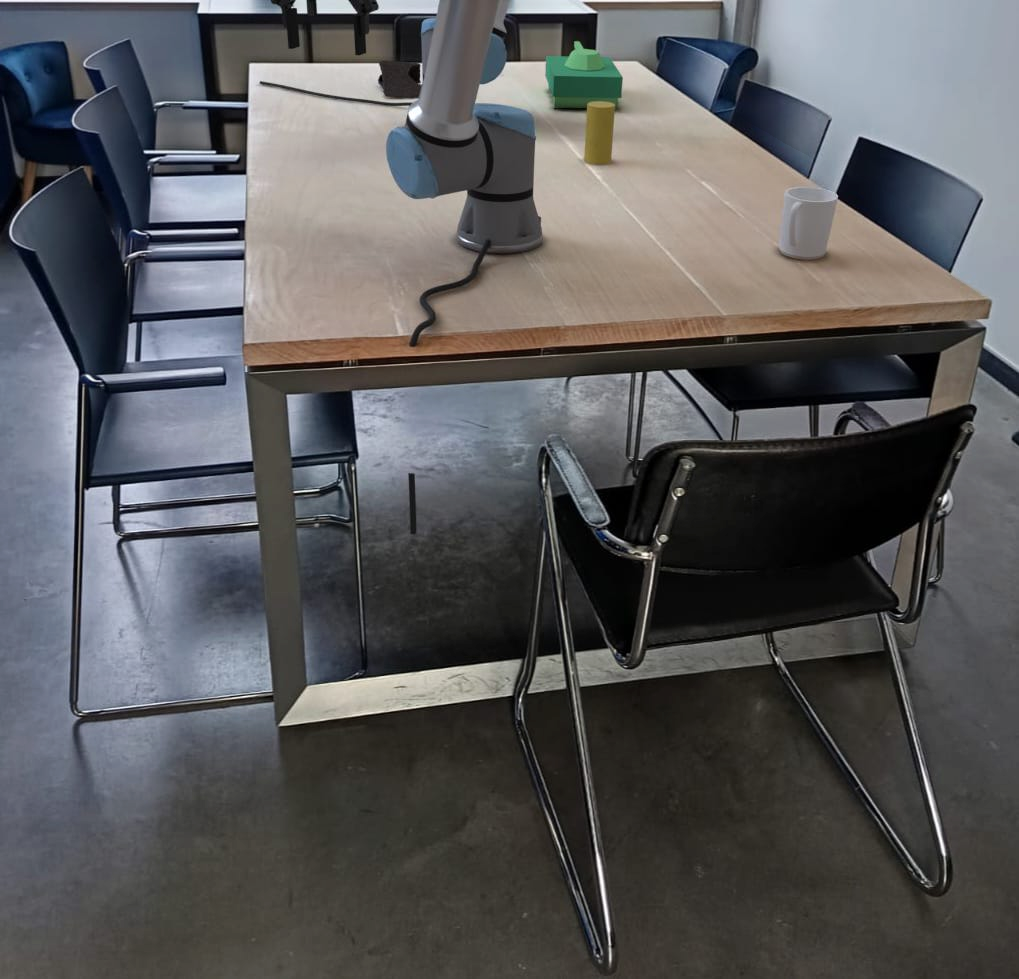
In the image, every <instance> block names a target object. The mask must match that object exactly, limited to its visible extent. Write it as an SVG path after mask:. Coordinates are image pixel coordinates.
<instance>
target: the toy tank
mask: <svg viewBox="0 0 1019 979" xmlns="http://www.w3.org/2000/svg"><path fill="white" fill-rule="evenodd" d="M573 43H574V44H573V45H574V46H573V47H574V49H573V50H572V51H571V52H570V54H569V56H567V55H566V56H565V55H564V56H559V55H556V56H555V55H546V56H545V74H544V76H545V79H546V81H547V85H548V86H547V87H548V91H549V92H551V96H552V104H553V108H554V109H587V104H588V103H589V102H595V101H603V102H610V103H613V104H615V109H618V102H619V99H622V93H623V80H624V76H623V75H622V74H621V72H620V70H618V68H617V67H616V64H615V63H614V62H613V60H612V58H611V57H610V56H609V57H608V56H601V53H600V51H597V50H595V49H588V48H584V47H583V45H582V43H581V42H580V41H579V40H576V41H574V42H573Z"/></svg>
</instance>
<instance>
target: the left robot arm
mask: <svg viewBox="0 0 1019 979" xmlns="http://www.w3.org/2000/svg"><path fill="white" fill-rule="evenodd" d="M305 2H306V15H307V16H308V17H313V18H317V17H318V6H317V0H305ZM510 2H511V0H500V1H499V5H498V9H497V13H496V17H495V22H494V26H493V30H492V34H491V38H490V43H489V47H488V51H487V55H486V59H485V64H484V68H483V72H482V76H481V80H480V85H487V84H490V83H491V82H493V81H495V80H496V79H497V78H498V77H499V76H500V75H501V74H502V72H503V71H504V69H505V66H506V63H507V59H508V58H507V57H508V52H507V49H506V45H505V43H504V41H505V39H506V35H507V29H506V27H505V24H504V21H505V18H506V15H507V12H508V10H509V6H510ZM435 21H436V17H431V18H425V19H424V20H423V21H422V23H421V31H420V37H421V66H422V67H421V68H422V69H421V70H422V73H421V74H422V75H421V76H422V82H421V86H422V87H423V82H424V77H425V72H426V66H427V61H428V56H429V51H430V46H431V41H432V36H433V31H434V26H435ZM259 85H262V86H263V85H264V86H267V87H268V86H269V87H273V88H280V89H285V90H287V91H293V92H298V93H301V94H306V95H311V96H316V97H321V98H327V99H333V100H340V101H346V102H354V103H363V104H372V105H379V106H387V107H409V106H410V105H411V104H412V103H413V102H414V101H413V102H412V101H409V102H407V101H406V102H388V101H379V100H373V99H364V98H355V97H348V96H347V97H346V96H340V95H334V94H328V93H321V92H317V91H312V90H307V89H303V88H302V89H301V88H297V87H293V86H289V85H284V84H279V83H273V82H268V81H262V80H260V81H259ZM422 87H421V91H420V95H419V97H418V99H417V100H419V99H420V97H421V92H422Z"/></svg>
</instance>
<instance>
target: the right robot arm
mask: <svg viewBox="0 0 1019 979" xmlns="http://www.w3.org/2000/svg"><path fill="white" fill-rule="evenodd" d="M296 1H297V0H270V2H271V4H272V5H276V6H278V7H279V8H280V9H281V19H282V27H283V28H284V29H286V36H287V48H288V50H293V49H297V48H300V47H301V42H300V32H299V31H300V30H299V19H298V18H299V16H298V8H297V7H295V5H294V4H295V3H296ZM347 1H348V2H349V4H350V5H351V6H352V8H353V9H354V11H355V12H356V14H354V15H353V18H352V19H353V33H354V34H353V37H354V56H362V55H364V54H367V42H366V41H367V40H366V35H369V33H370V14H371V13H374V12H376V11H378V10H379V8H380V6H379V4H378V1H377V0H347ZM499 1H500V0H439V1H438V6H437V12H436V16H435V18H436V21H435V26H434V31H433V36H432V41H431V46H430V51H429V56H428V61H427V66H426V72H425V77H424V82H423V81H422V83H423V87H422V92H421V97H420V99H419V98H418V99H419V100H418V99H417V100H414V101H413V103H412V104H411V105H410V106H408V109H407V114H406V117H405V118H406V119H405V124H404V125H403V126H400V125H398V126H396V127H395V128H394V129H391V130H390V131H389V133H388V134H387V138H386V142H385V150H386V151H385V152H386V160H387V164H388V168H389V171H390V173H391V176H392V178H393V180H394V182H395V184H396V185H397V187H398V188H399V189H400V191H401V192H402V193H403V194H405V195H406V196H407V197H408V198H410V199H414V200H424V199H436V198H437V197H440V196H445V195H451V194H456V193H460V192H467V193H466V198H465V202H464V205H463V209H462V211H461V214H460V218H459V220H458V224H457V228H456V241H457V243H458V244H459V245H461V246H462V247H464V248H466V249H468V250H470V251H475V252H479V253H478V256H477V257H476V259H475V261H474V263H473V265H472V267H471V271H470V273H469V274H468V275H467V276H465V277H464V278H462V279H460V280H458V281H454V282H453V281H452V282H450V283H445V284H441V285H438V286H434V287H431V288H429V289H427V290H425V291H423V292H422V294H421V295H420V297H419V303H420V305H421V307H422V308H423V309H424V310H425V312H426V313H427V314H428V319H426V320H424V321H422V322H420V323H419V324H418V325H417V326H416V327H415V329H414V330H413V332H412V335H411V338H410V341H409V347H410V348H415V347H416V346H417V343H418V340H419V338H420V335H421V334H422V332H423V331H424V330H426V329H427V328H429V327H431V326H432V325H434V323H435V322H436V319H437V318H436V316H437V315H436V312H435V310H434V309H433V307H431V305H430V304H429V302H427V299H428V298H429V297H430V296H433V295H435V294H437V293H441V292H446V291H450V290H455V289H458V288H461V287H463V286H466V285H468V284H469V283H470V282H472V281H474V279H475V278H476V276H477V275H478V272H479V268H480V266H481V264H482V262H483V260H484V258H485V256H486V254H497V255H499V254H500V255H506V254H507V255H508V254H517V253H524V252H527V251H530V250H533V249H536V248H538V247H539V246H540V245H541V244H542V243H543V229H542V217H541V216H539V214H538V213H539V212H538V210H537V206H536V204H535V199H534V184H535V181H534V180H535V158H536V156H535V154H536V140H537V136H536V121H535V117H534V115H533V114H532V113H531V112H529V111H528V110H526V109H523V108H521V107H516V106H511V105H506V104H500V103H499V104H498V103H486V102H476V101H477V97H478V93H479V88H480V85H481V84H480V80H481V76H482V72H483V68H484V64H485V59H486V55H487V51H488V47H489V43H490V38H491V34H492V30H493V26H494V22H495V17H496V13H497V9H498V5H499ZM407 475H408V476H407V477H408V498H409V499H408V500H409V529H410V534H411V535H414V536H415V535H417V533H418V532H417V500H416V499H417V497H416V475H415V473H414V472H413V473H412V472H411V473H410V472H408V473H407Z"/></svg>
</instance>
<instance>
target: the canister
mask: <svg viewBox="0 0 1019 979" xmlns="http://www.w3.org/2000/svg"><path fill="white" fill-rule="evenodd" d="M615 111H616V108H615V104H613V103H610V102H603V101H595V102H589V103H588V104H587V108H586V118H585V119H586V120H585V137H584V139H585V140H584V156H583V160H584V162H585V163H587V164H589V165H599V166H601V165H609V164H610V163H612V157H613V156H612V155H613V140H614V126H615Z"/></svg>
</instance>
